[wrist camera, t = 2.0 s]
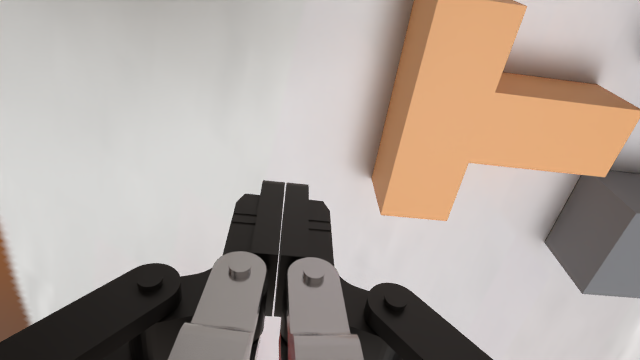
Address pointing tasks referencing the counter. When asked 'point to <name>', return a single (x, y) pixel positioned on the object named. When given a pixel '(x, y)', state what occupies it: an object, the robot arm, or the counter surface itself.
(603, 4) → the counter surface
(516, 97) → the t block
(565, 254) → the dock
